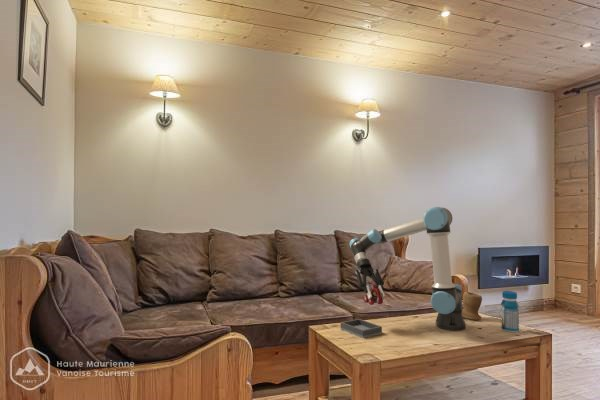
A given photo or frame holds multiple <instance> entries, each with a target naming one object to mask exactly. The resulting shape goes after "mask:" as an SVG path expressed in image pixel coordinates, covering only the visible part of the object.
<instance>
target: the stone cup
mask: <svg viewBox="0 0 600 400" xmlns="http://www.w3.org/2000/svg"><path fill="white" fill-rule="evenodd" d="M482 301H483V297H482V295H481V294H479V293H474V292H470V291H464V292H463V293H462V307H463V308H462V315H463V318H464V319H468V320H475V321H478V320H481V319H483V317H482V316H481V315H480V314H479V309H480V307H481V305H482Z"/></svg>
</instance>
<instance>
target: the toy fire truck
mask: <svg viewBox="0 0 600 400" xmlns="http://www.w3.org/2000/svg"><path fill="white" fill-rule="evenodd" d="M366 286H368V288H369V290H370V293H371V295H372V297H371V298H370V299H369V298H368V296H367V294H364V295H363V297H362V299H363V302H364V303H366V304H367V303H368V304H369V305H370V306H373V305H374V304H378V305H382V304H383V302H384V298H382V297H381V294H380V290H379V288H378V285H376V283H372V282H370V281H368V282H366Z"/></svg>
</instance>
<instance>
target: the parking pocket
mask: <svg viewBox="0 0 600 400" xmlns="http://www.w3.org/2000/svg"><path fill="white" fill-rule="evenodd" d="M382 327H383V326H380V325H378V324H375V323H372V322H369V321H367V320H363V319H361V318H357V319H351V320H348V321H347V320H345V321H341V322H340V330H341V331H345V332H347V333H350V334H352V335H354V336H356V337H359V338H362V339H365V338H369V337H373V336H378V335H381V334H382V333H383V328H382Z"/></svg>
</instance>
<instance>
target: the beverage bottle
mask: <svg viewBox="0 0 600 400" xmlns="http://www.w3.org/2000/svg"><path fill="white" fill-rule="evenodd" d="M502 298H503V299H502V300H501V303H500V305H501V307H500V313H501V324H500V325H501V326H500V327H501V330H502V331H504V330H505V331H504V332H507V331H508V333H518V332H520V326H519V325H520V321H519V315H520V310H519V307H520V305H519V303H518V301H517V299H518V294H517V291H511V290H503V291H502Z"/></svg>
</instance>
